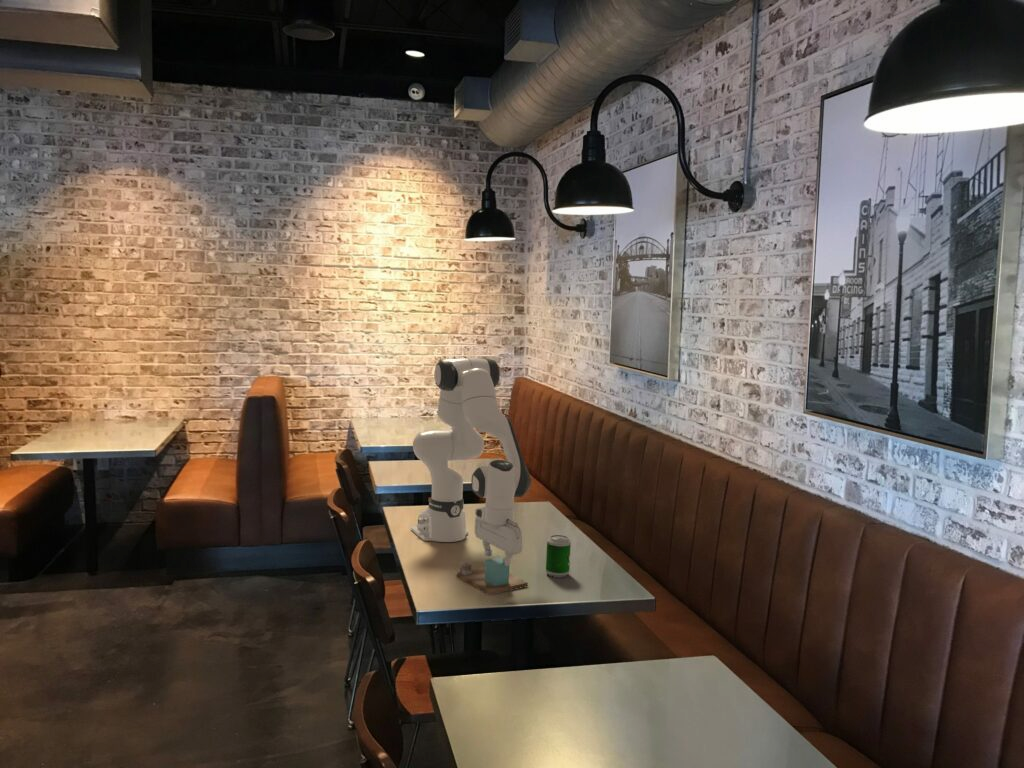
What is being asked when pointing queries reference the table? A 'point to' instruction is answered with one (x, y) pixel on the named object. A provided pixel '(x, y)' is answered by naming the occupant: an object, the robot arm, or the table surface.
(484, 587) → the stand
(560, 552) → the soda can
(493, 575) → the light blue toy cube
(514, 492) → the robot arm
